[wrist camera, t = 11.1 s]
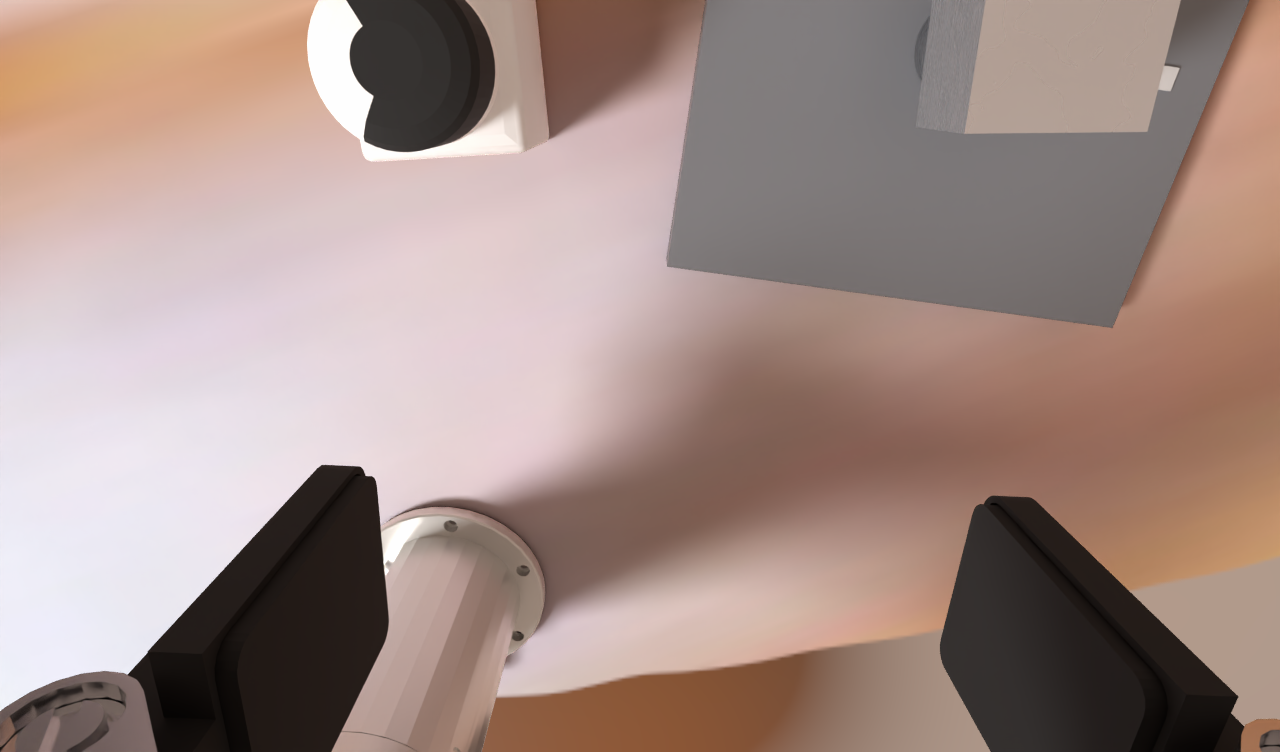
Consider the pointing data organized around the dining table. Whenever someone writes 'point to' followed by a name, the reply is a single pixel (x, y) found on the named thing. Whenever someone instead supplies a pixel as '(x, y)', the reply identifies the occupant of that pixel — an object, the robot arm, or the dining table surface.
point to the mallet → (1044, 65)
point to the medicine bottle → (431, 75)
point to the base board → (916, 167)
